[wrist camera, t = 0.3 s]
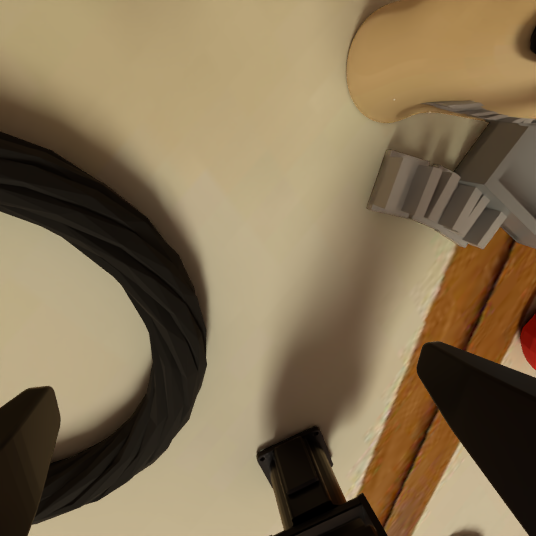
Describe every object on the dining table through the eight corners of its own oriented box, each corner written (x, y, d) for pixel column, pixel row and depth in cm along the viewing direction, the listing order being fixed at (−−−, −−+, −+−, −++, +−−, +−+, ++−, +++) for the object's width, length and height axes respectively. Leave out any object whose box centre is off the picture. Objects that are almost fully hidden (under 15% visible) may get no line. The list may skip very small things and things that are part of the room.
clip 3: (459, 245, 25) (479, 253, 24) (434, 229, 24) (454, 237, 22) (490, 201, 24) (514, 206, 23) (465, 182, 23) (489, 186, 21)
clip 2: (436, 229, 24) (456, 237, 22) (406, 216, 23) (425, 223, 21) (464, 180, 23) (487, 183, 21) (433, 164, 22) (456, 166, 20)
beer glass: (338, -5, 17) (990, -586, 3) (449, -8, 18) (1242, -429, 4) (338, 136, 19) (679, 139, 6) (433, 125, 21) (887, 106, 7)
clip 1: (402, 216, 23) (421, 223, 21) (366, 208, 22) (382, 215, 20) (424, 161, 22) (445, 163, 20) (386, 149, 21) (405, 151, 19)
